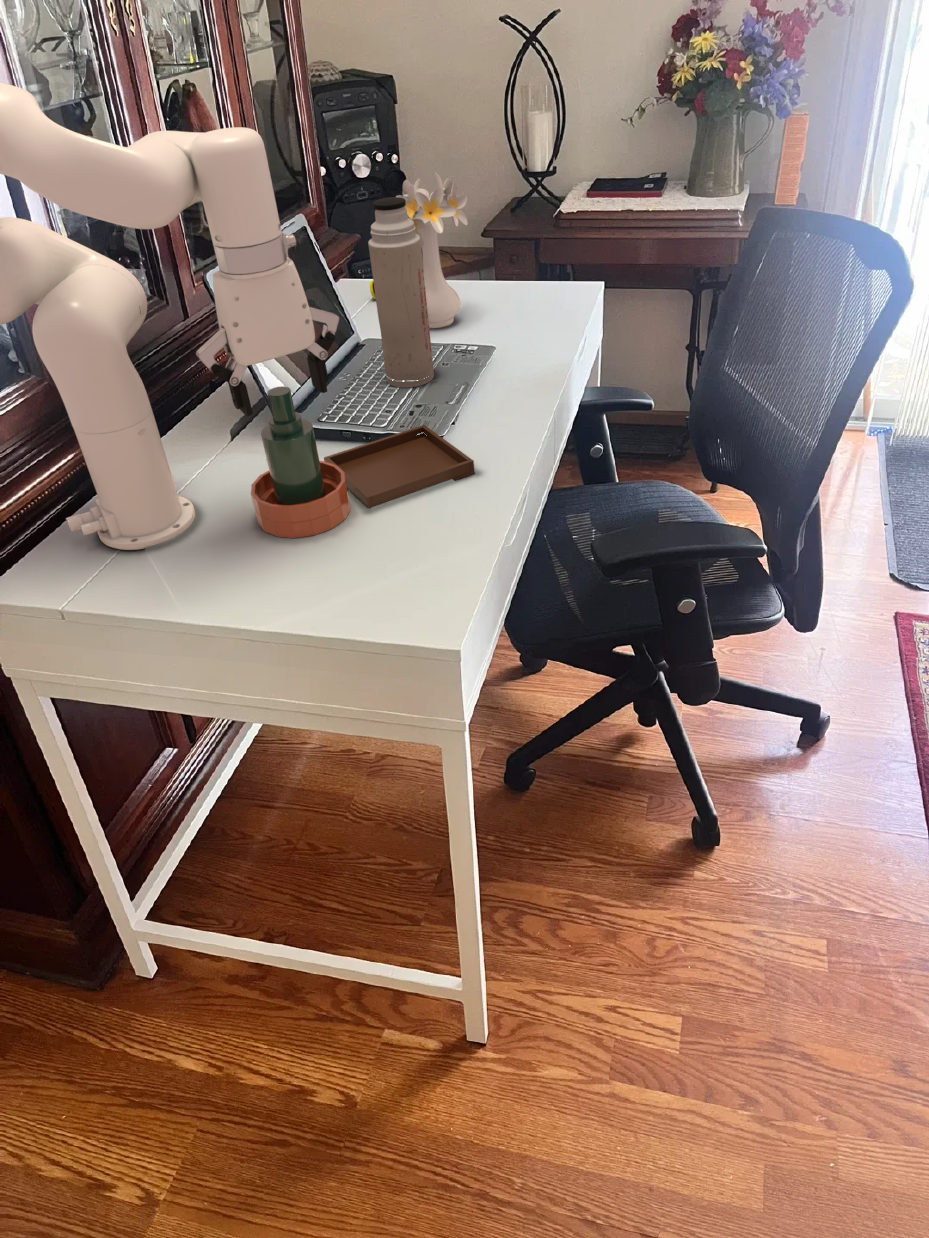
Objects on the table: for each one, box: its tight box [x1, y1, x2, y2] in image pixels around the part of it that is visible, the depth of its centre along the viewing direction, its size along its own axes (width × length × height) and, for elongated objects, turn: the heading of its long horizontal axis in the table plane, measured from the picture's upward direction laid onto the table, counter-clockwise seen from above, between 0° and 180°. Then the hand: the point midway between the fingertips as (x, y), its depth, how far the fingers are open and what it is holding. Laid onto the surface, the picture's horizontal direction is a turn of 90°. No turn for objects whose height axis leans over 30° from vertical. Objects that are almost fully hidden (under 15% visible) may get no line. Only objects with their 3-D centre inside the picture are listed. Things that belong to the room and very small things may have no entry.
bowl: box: [250, 460, 351, 539], centre depth 122 cm, size 12×12×5 cm
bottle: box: [260, 385, 326, 505], centre depth 118 cm, size 6×6×17 cm
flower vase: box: [395, 171, 469, 329], centre depth 168 cm, size 13×18×25 cm
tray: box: [323, 424, 476, 509], centre depth 130 cm, size 16×14×2 cm
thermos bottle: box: [367, 196, 435, 389], centre depth 148 cm, size 8×8×28 cm
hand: (283, 400), depth 113 cm, fingers open, 9 cm apart
